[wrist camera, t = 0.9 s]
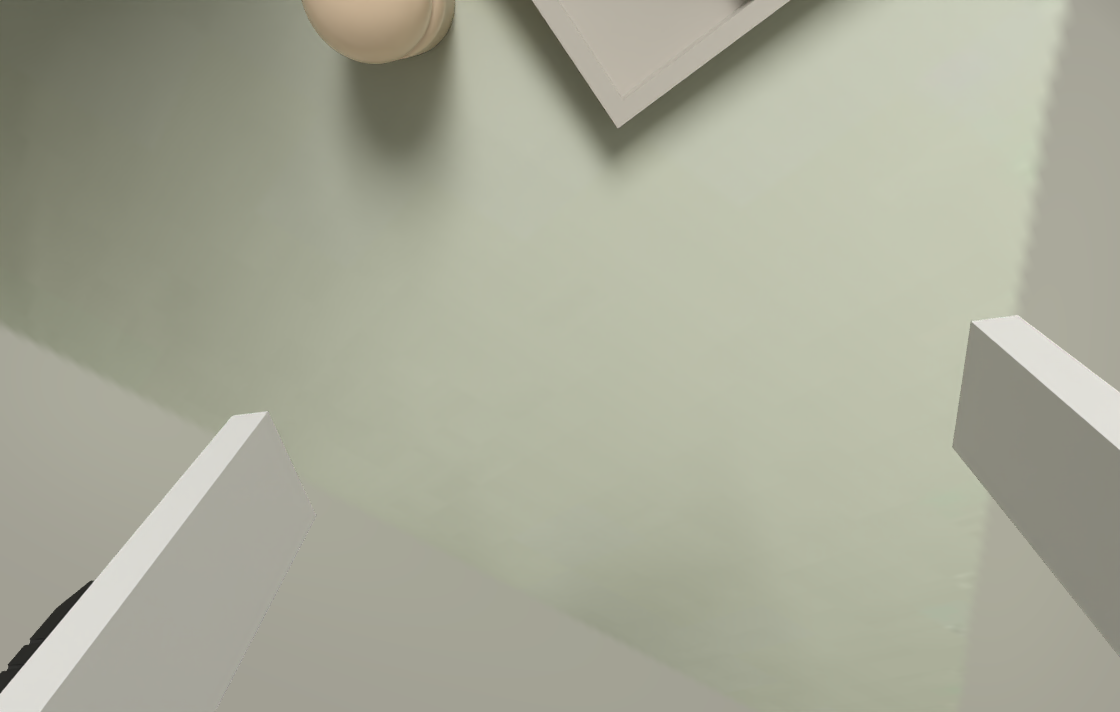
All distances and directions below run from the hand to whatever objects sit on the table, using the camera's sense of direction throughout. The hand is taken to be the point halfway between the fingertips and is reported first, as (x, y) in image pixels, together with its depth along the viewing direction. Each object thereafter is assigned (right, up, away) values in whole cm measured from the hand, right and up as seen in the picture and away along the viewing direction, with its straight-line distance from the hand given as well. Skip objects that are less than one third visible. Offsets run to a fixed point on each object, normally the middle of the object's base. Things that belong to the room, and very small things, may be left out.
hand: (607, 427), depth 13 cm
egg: (-8, +17, +15) cm, 24 cm away
